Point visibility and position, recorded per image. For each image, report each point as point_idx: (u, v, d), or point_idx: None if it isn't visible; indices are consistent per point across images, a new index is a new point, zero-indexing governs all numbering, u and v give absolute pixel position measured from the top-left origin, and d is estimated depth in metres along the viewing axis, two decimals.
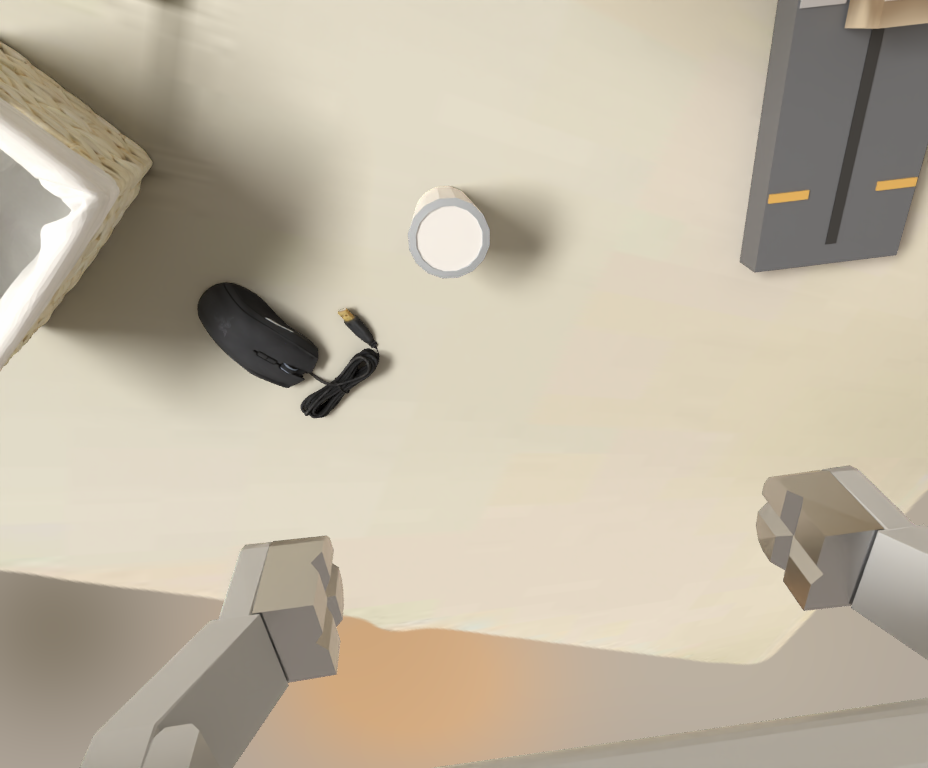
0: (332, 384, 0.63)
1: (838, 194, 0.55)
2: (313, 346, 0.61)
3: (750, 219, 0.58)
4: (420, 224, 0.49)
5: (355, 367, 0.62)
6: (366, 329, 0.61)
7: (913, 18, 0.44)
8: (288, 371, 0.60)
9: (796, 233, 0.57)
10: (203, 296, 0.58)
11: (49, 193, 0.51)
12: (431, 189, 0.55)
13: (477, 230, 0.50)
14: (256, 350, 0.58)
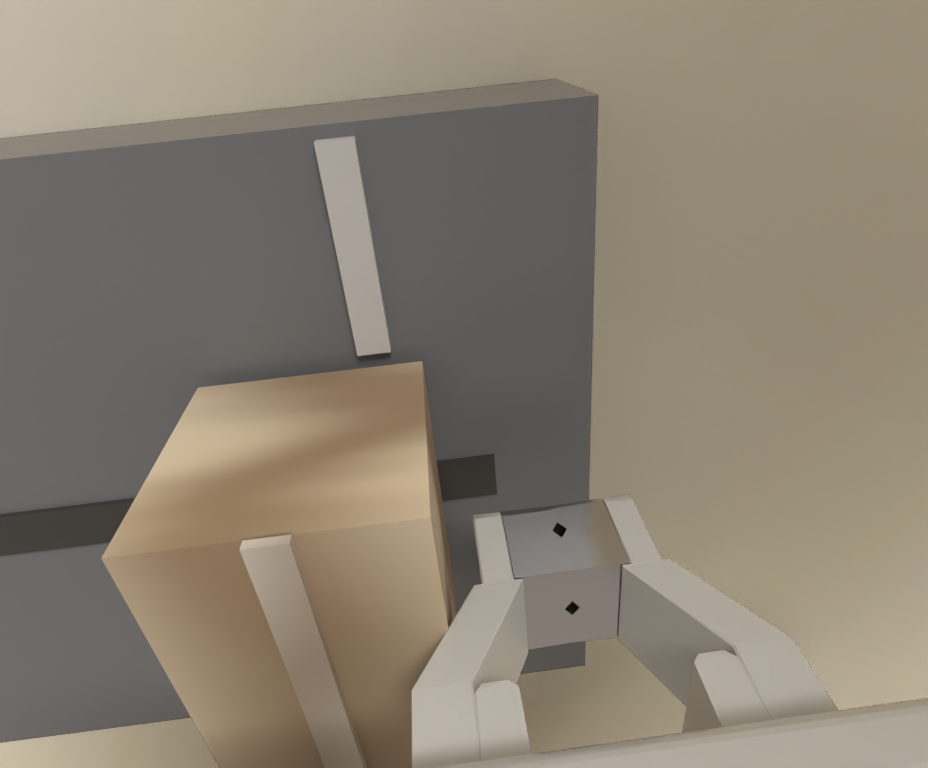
0: None
1: None
2: None
3: None
4: None
5: None
6: None
7: (198, 678, 0.09)
8: None
9: None
10: None
11: None
12: None
13: None
14: None
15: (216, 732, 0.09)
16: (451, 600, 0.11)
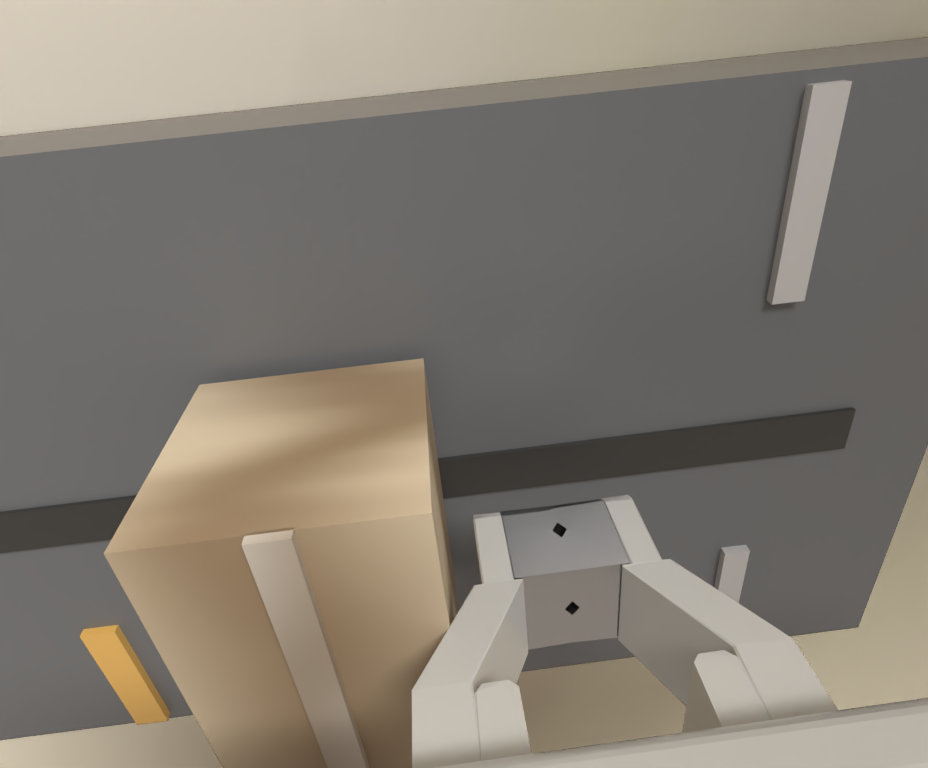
0: None
1: (16, 520, 0.12)
2: None
3: None
4: None
5: None
6: None
7: (200, 674, 0.09)
8: None
9: None
10: None
11: None
12: None
13: None
14: None
15: (218, 728, 0.09)
16: (452, 597, 0.11)
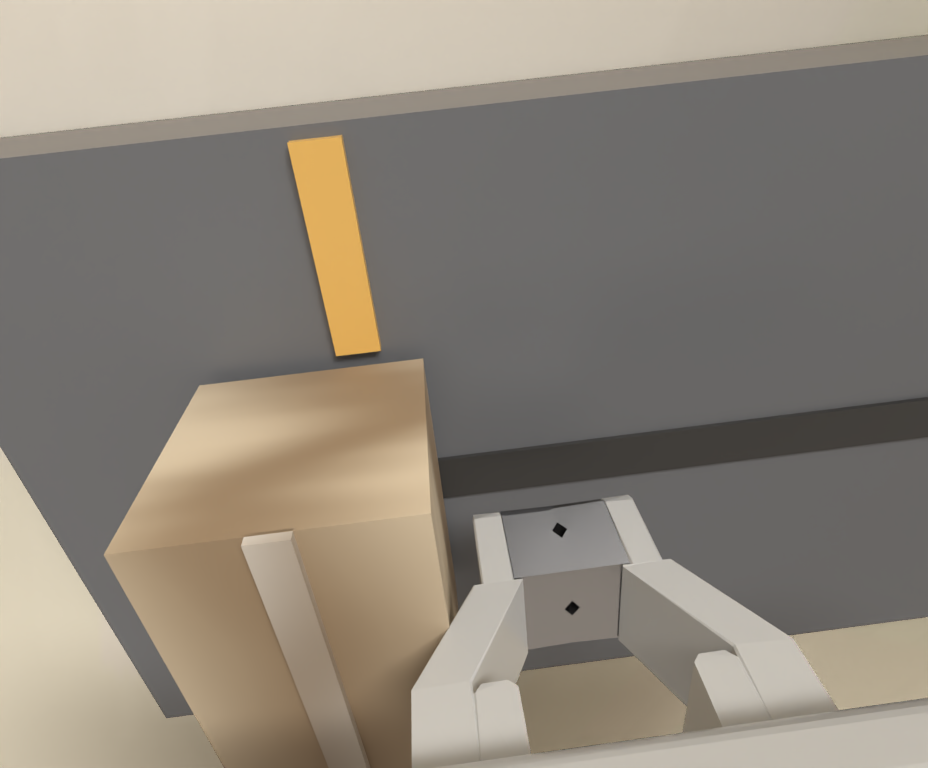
0: None
1: None
2: None
3: (193, 120, 0.11)
4: None
5: None
6: None
7: (201, 674, 0.09)
8: None
9: (154, 354, 0.11)
10: None
11: None
12: None
13: None
14: None
15: (218, 728, 0.09)
16: (452, 597, 0.11)
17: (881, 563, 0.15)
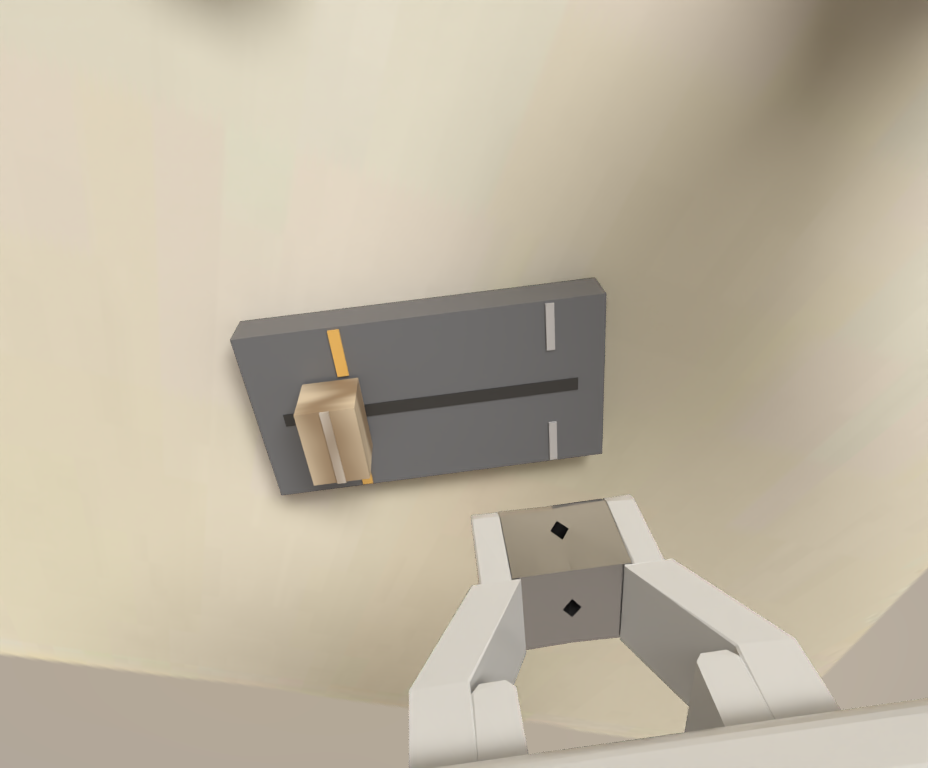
0: None
1: None
2: None
3: (301, 318, 0.43)
4: None
5: None
6: None
7: (308, 445, 0.41)
8: None
9: (292, 376, 0.43)
10: None
11: None
12: None
13: None
14: None
15: (310, 461, 0.42)
16: (366, 438, 0.44)
17: (512, 440, 0.48)
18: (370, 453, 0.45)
